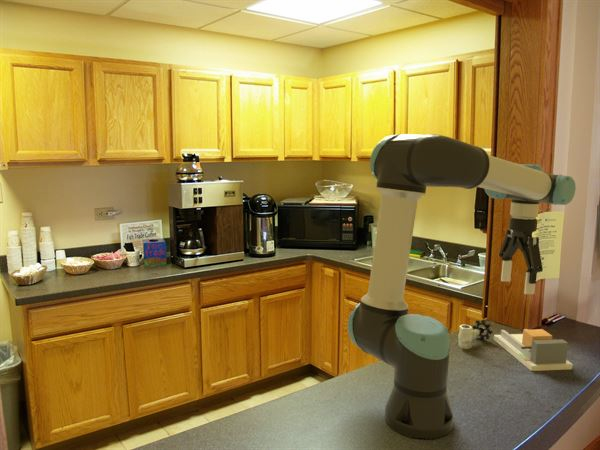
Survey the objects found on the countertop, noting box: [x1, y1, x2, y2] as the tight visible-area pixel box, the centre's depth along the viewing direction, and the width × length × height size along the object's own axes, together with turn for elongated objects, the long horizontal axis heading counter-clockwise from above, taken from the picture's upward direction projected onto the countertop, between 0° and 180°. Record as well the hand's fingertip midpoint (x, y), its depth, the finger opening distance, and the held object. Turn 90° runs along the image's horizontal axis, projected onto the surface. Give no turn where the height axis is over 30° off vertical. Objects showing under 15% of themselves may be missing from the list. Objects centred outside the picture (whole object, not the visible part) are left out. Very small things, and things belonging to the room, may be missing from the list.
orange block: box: [521, 328, 553, 350], centre depth 146 cm, size 12×5×6 cm, turn 95°
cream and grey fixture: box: [493, 328, 574, 372], centre depth 149 cm, size 12×22×8 cm, turn 5°
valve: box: [457, 319, 494, 350], centre depth 156 cm, size 7×7×12 cm
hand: (516, 287), depth 150 cm, fingers open, 13 cm apart
